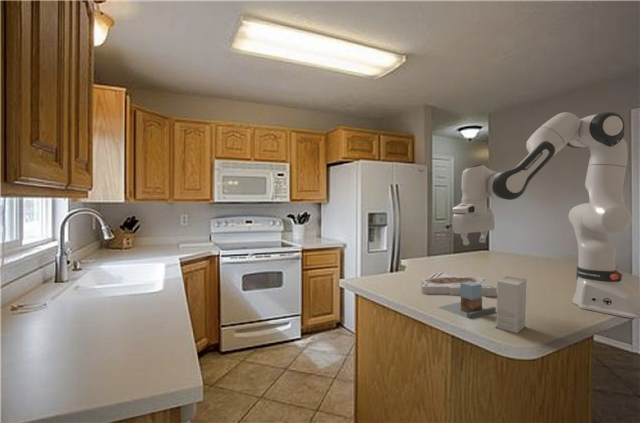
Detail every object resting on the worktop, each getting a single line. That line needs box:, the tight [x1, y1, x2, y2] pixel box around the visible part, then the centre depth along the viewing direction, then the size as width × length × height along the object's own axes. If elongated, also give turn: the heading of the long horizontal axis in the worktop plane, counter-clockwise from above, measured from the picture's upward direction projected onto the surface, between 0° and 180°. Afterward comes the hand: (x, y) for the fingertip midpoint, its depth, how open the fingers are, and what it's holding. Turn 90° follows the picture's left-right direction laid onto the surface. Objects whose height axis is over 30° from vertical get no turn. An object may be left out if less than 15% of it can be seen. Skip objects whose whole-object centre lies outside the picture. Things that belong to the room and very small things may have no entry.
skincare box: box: [496, 276, 527, 334], centre depth 109 cm, size 8×7×16 cm
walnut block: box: [460, 297, 483, 313], centre depth 123 cm, size 5×5×5 cm
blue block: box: [459, 281, 483, 300], centre depth 124 cm, size 5×5×5 cm
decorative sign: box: [421, 271, 497, 297], centre depth 159 cm, size 32×4×30 cm
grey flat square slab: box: [437, 301, 497, 319], centre depth 126 cm, size 14×14×2 cm
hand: (474, 243), depth 131 cm, fingers open, 8 cm apart
